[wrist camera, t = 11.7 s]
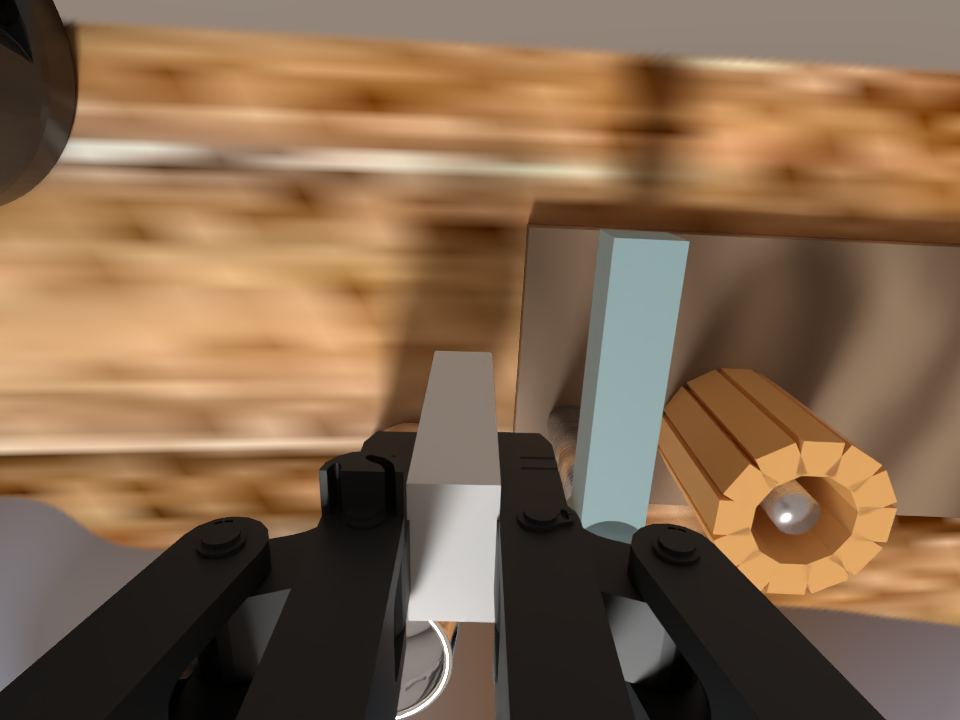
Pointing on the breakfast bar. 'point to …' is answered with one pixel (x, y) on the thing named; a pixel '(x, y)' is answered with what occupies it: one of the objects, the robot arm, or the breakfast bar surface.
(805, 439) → the collar
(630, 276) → the bar
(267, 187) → the breakfast bar surface
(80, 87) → the breakfast bar surface
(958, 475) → the plate
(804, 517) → the silver metal piece
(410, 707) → the beer glass
